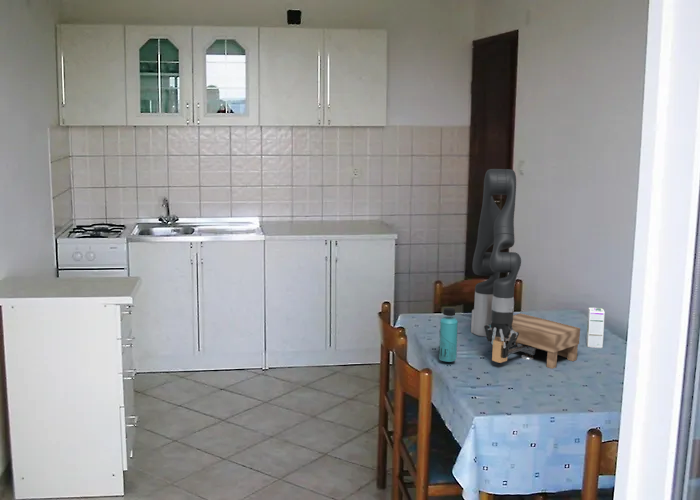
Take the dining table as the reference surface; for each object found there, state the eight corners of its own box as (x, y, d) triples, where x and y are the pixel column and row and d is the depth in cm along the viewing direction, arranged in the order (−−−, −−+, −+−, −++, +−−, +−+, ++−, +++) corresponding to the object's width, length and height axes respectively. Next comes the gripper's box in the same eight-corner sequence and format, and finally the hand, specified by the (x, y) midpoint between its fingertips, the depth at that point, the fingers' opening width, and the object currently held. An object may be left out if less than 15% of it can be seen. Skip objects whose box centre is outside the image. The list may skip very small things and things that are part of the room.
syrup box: (602, 348, 298) (605, 311, 295) (586, 347, 299) (589, 310, 296) (601, 344, 303) (604, 308, 300) (585, 342, 304) (588, 306, 302)
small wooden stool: (518, 343, 302) (520, 313, 300) (577, 360, 283) (580, 328, 281) (493, 351, 291) (494, 320, 289) (552, 369, 272) (554, 336, 270)
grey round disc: (519, 358, 284) (519, 356, 284) (524, 356, 287) (524, 353, 287) (530, 361, 281) (530, 358, 281) (535, 358, 285) (536, 356, 284)
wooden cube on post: (504, 364, 269) (505, 343, 268) (488, 359, 275) (489, 338, 273) (534, 354, 281) (536, 334, 280) (519, 349, 286) (520, 329, 285)
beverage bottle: (458, 361, 279) (460, 307, 275) (454, 366, 273) (456, 311, 269) (440, 359, 281) (442, 305, 277) (436, 364, 275) (438, 309, 271)
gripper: (479, 306, 273) (477, 353, 276) (512, 314, 262) (509, 363, 265) (493, 302, 277) (490, 349, 281) (525, 311, 267) (522, 359, 270)
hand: (499, 356), depth 273 cm, fingers closed on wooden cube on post, 3 cm apart
